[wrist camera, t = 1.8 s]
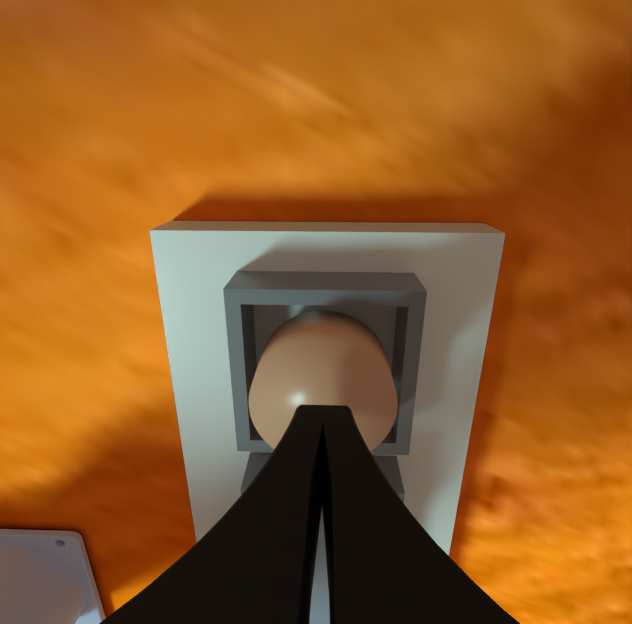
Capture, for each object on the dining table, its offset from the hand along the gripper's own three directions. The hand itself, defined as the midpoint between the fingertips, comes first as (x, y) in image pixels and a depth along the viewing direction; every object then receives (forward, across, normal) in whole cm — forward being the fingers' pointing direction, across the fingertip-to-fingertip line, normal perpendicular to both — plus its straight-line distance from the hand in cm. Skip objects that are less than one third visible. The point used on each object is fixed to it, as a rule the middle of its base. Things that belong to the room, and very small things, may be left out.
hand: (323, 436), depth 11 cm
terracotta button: (+4, 0, 0) cm, 4 cm away
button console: (+7, 0, +8) cm, 11 cm away
